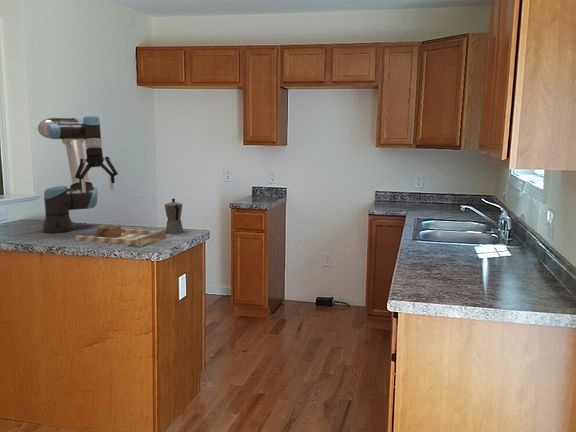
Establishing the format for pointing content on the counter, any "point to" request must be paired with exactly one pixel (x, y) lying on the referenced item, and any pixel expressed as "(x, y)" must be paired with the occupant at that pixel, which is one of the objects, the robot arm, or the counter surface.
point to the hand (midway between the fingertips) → (98, 191)
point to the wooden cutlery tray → (129, 237)
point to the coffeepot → (173, 217)
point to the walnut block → (109, 231)
